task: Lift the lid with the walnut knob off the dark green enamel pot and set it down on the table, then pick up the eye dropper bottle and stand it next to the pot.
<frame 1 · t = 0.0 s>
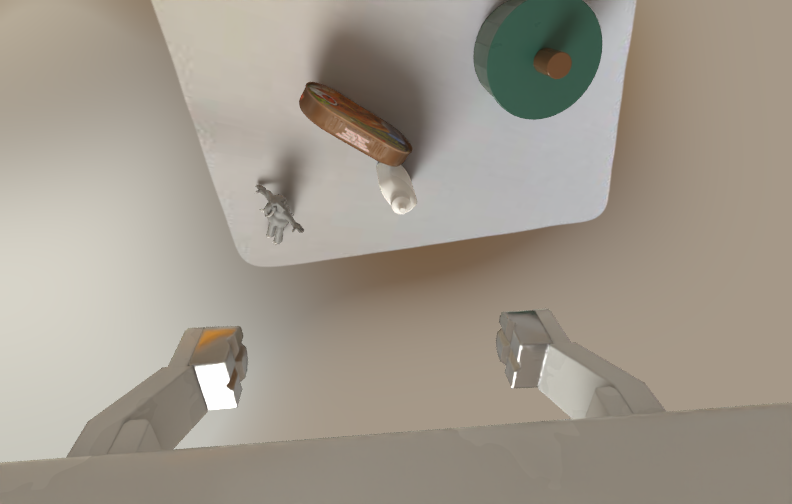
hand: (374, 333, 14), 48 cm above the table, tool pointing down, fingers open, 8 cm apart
lid: (542, 59, 48), point 7 cm above the table, touching pot
grey creature figurine: (284, 208, 63), on the table
tin: (356, 117, 57), on the table
eye dropper bottle: (393, 173, 62), on the table
pot: (519, 51, 55), on the table
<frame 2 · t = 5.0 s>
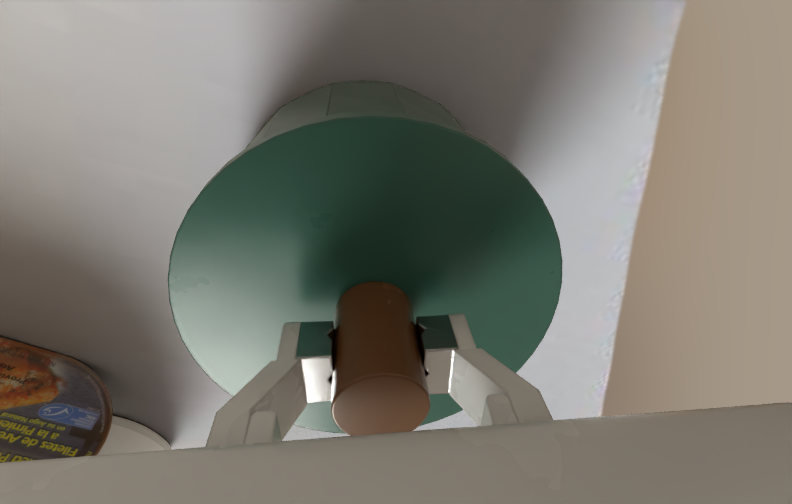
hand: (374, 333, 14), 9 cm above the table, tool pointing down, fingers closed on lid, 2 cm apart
lid: (372, 301, 15), point 8 cm above the table, touching gripper, pot
eye dropper bottle: (130, 433, 29), on the table
pot: (365, 208, 21), on the table
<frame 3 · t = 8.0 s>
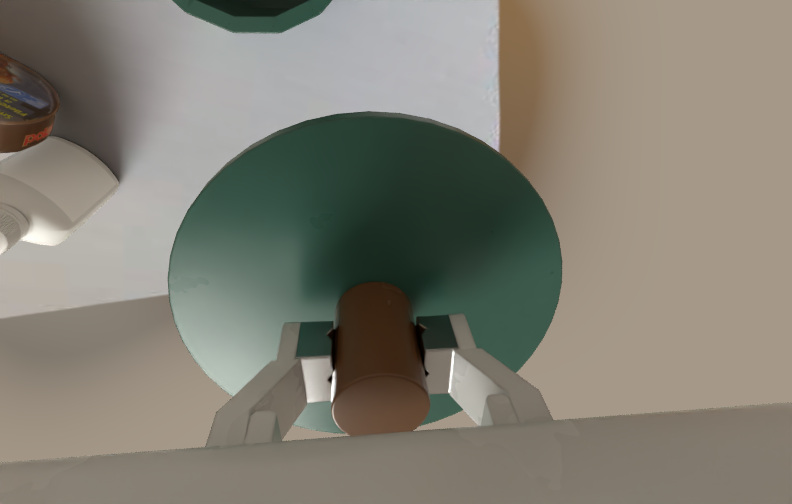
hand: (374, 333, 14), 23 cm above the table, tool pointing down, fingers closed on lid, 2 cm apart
lid: (372, 301, 15), point 22 cm above the table, touching gripper
eye dropper bottle: (82, 166, 33), on the table
when the fingers open (2 cm above the table, at t = 11.3 s): lid stays where it is, point 1 cm above the table.
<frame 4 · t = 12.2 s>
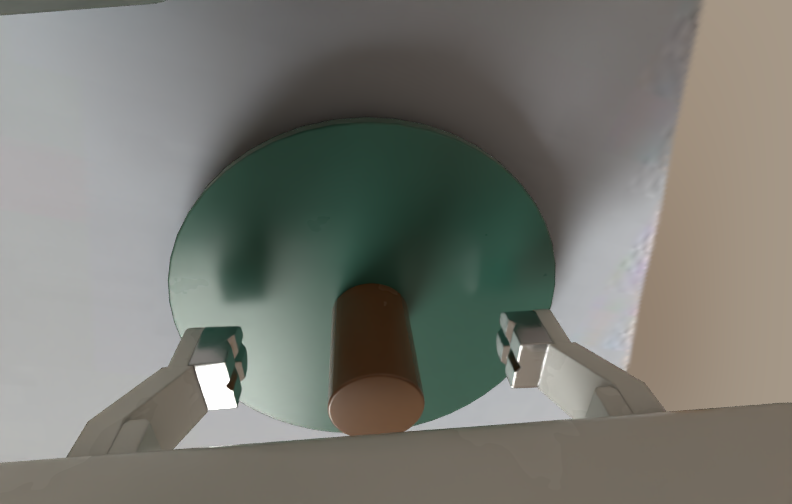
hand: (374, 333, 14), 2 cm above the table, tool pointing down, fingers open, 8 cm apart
lid: (369, 302, 15), point 1 cm above the table
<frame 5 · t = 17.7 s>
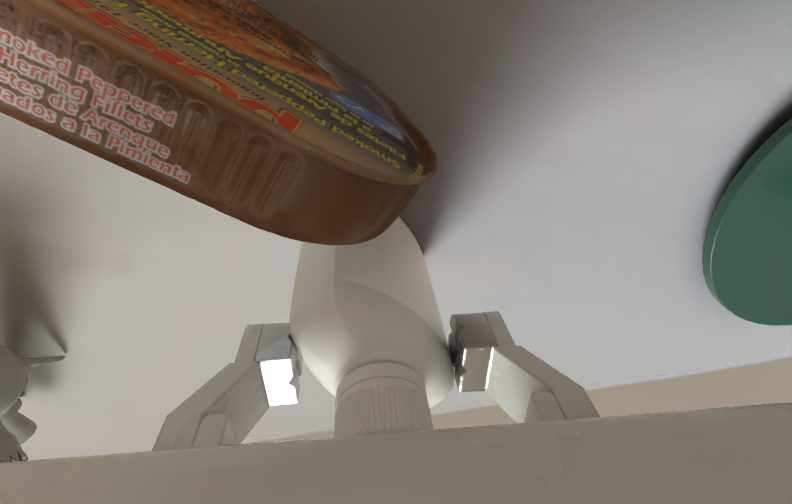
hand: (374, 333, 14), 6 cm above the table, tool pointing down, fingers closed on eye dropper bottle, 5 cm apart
grey creature figurine: (31, 339, 20), on the table
tin: (213, 32, 15), on the table
eye dropper bottle: (367, 234, 19), on the table, touching gripper
when the fingers open (6 cm above the table, at t = 25.1 s): eye dropper bottle stays where it is, on the table.
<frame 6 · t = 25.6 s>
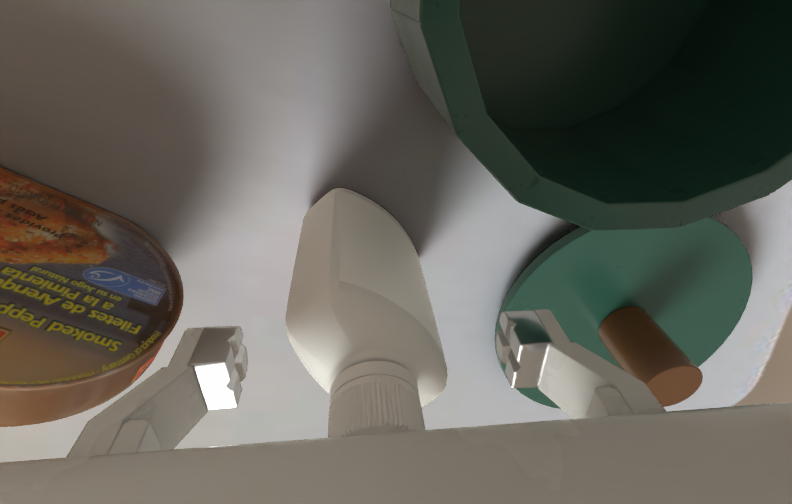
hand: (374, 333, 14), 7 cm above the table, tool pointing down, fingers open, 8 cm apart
lid: (616, 318, 23), point 1 cm above the table
tin: (12, 201, 17), on the table
eye dropper bottle: (364, 236, 19), on the table
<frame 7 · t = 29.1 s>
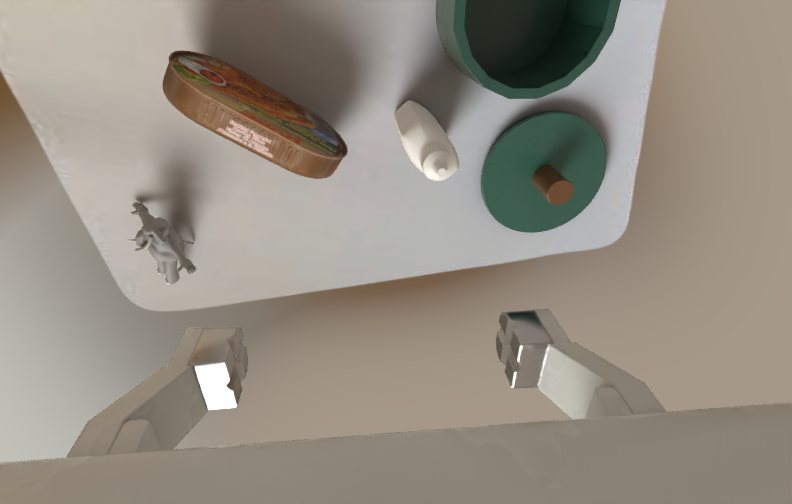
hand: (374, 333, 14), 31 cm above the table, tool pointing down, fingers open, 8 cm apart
lid: (542, 175, 45), point 1 cm above the table
grey creature figurine: (180, 234, 45), on the table
tin: (268, 105, 39), on the table
eye dropper bottle: (418, 126, 42), on the table
pot: (505, 6, 37), on the table
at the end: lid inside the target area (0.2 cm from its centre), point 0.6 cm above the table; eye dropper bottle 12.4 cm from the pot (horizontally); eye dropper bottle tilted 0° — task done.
